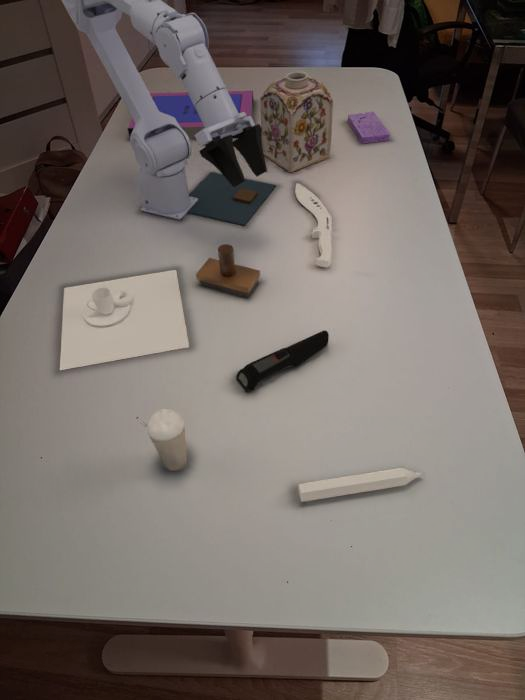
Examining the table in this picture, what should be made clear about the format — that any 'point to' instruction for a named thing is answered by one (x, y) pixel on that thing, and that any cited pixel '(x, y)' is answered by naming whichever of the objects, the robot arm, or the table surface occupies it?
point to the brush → (228, 274)
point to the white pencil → (356, 483)
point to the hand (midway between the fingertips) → (251, 178)
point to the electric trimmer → (281, 360)
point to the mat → (227, 199)
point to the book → (194, 109)
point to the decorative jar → (296, 121)
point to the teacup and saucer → (122, 319)
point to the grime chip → (245, 196)
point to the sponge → (368, 127)
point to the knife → (321, 229)
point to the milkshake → (168, 437)
